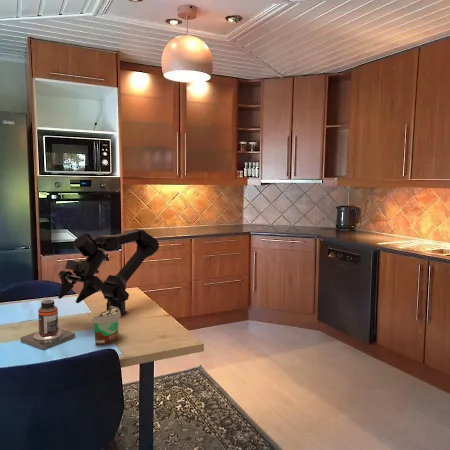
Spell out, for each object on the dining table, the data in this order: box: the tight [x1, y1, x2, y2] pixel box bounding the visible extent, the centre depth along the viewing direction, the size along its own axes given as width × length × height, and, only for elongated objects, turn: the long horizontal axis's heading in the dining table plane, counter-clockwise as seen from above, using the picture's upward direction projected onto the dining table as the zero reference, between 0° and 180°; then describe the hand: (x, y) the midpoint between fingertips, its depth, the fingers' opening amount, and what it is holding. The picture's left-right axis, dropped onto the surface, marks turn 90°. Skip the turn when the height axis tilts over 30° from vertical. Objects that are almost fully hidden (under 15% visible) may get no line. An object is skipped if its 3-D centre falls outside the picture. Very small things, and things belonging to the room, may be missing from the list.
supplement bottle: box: [37, 299, 59, 337], centre depth 136 cm, size 6×6×11 cm
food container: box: [92, 306, 122, 346], centre depth 137 cm, size 12×6×10 cm, turn 168°
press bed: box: [20, 327, 76, 351], centre depth 137 cm, size 12×12×2 cm
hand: (67, 300), depth 143 cm, fingers open, 9 cm apart
